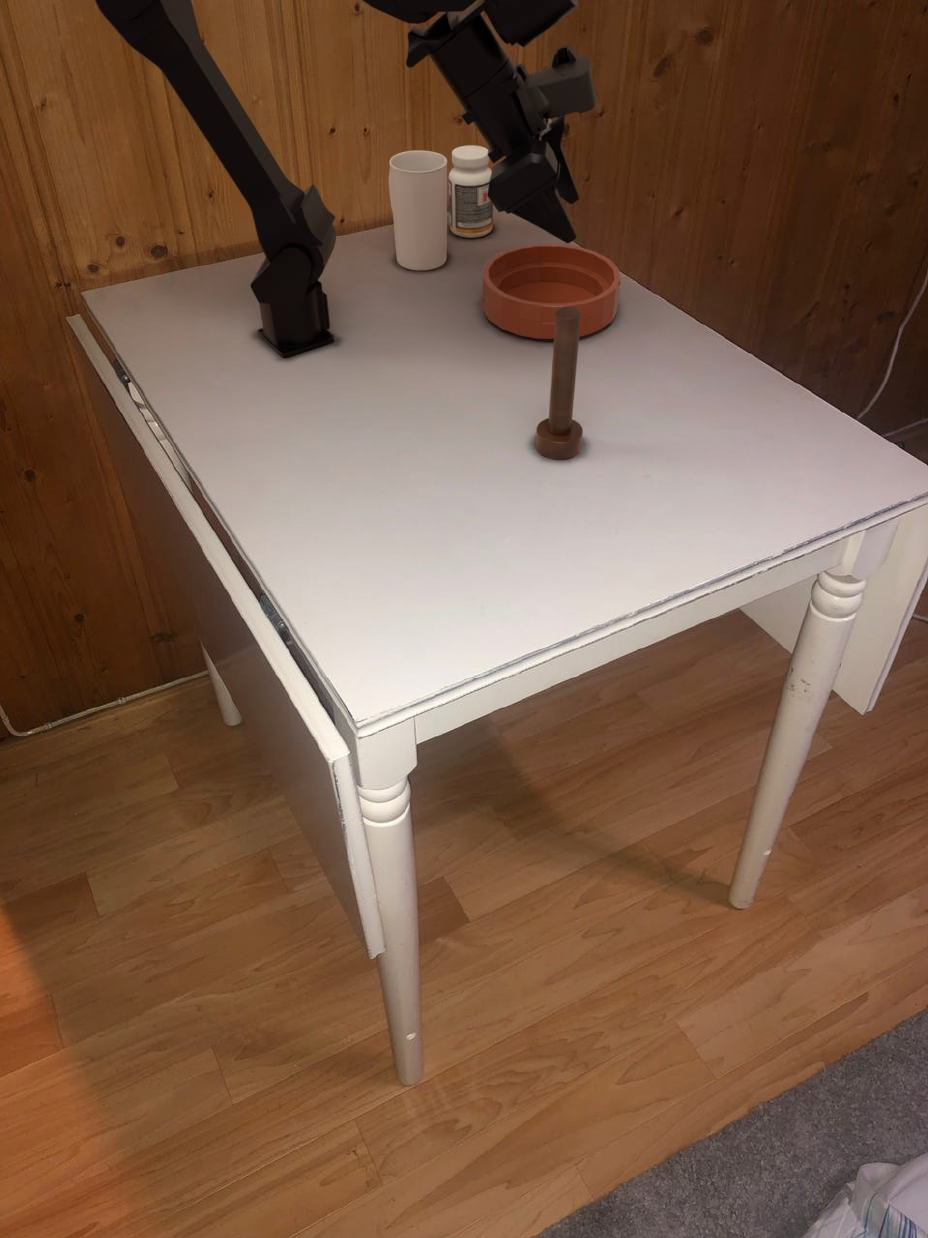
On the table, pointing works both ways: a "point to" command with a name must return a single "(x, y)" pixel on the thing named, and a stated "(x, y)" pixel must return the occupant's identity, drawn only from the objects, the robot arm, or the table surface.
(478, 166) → the pill bottle
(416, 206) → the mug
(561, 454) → the stick
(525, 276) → the bowl
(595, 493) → the table surface
